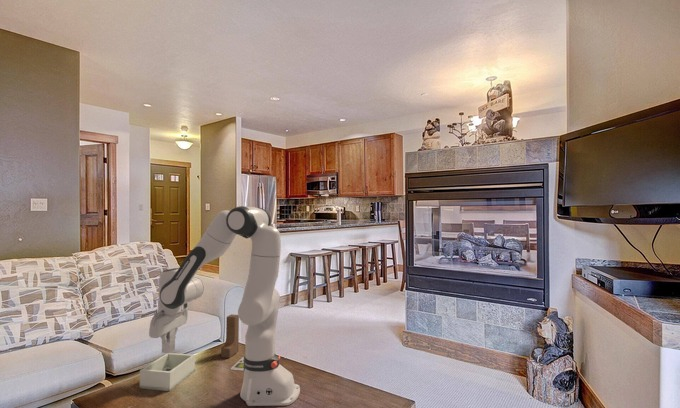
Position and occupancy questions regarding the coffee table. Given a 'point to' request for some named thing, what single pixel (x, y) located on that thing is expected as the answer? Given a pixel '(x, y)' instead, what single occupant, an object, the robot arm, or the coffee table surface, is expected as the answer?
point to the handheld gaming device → (239, 365)
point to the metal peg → (169, 342)
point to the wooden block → (231, 337)
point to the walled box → (167, 371)
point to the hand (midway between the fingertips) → (168, 341)
